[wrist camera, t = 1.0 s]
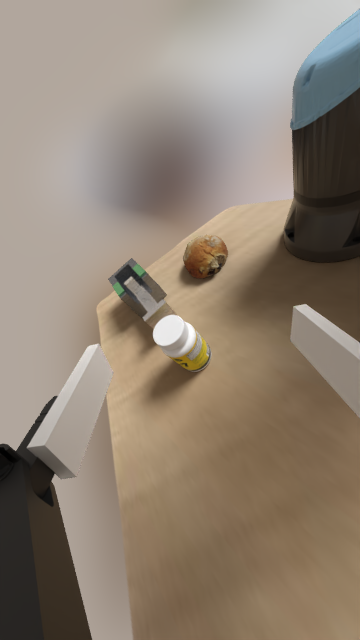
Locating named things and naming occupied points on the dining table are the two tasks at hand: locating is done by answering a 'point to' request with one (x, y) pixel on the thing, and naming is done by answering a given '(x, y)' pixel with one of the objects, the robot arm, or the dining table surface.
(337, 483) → the dining table surface
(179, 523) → the dining table surface
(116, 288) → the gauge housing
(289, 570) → the dining table surface
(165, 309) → the plunger
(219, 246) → the bread roll
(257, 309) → the dining table surface
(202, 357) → the supplement bottle
